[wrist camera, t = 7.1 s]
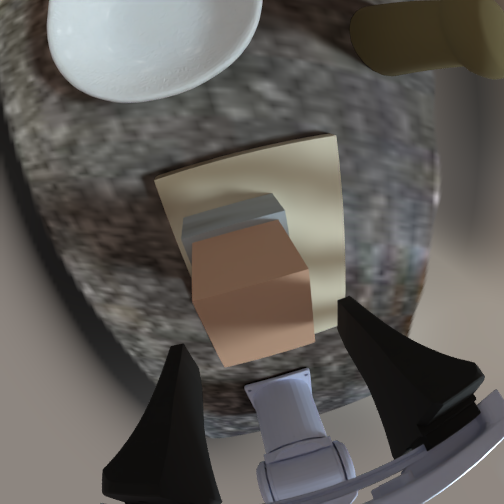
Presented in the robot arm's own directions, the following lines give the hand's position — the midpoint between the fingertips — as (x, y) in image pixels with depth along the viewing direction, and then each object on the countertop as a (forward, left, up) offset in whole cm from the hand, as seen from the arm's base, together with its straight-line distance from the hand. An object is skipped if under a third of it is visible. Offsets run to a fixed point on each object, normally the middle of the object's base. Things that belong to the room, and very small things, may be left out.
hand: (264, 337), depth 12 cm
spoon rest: (+23, +1, -10) cm, 25 cm away
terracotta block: (0, 0, -6) cm, 6 cm away
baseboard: (-3, -2, -10) cm, 10 cm away
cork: (+13, -14, -10) cm, 22 cm away
